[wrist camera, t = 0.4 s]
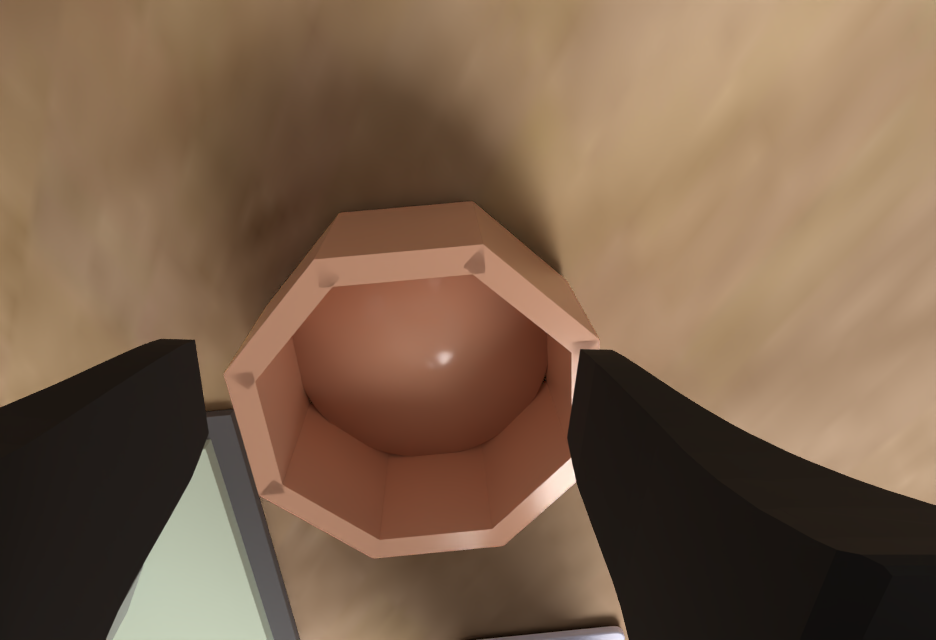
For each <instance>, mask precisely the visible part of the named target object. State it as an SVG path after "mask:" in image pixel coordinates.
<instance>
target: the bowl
mask: <svg viewBox="0 0 936 640" xmlns="http://www.w3.org/2000/svg"><path fill="white" fill-rule="evenodd" d="M599 346H600V339H599V337H598V336H597V334H596V332H595V330H594V328H593V327H592V325H591V323H590V321H589V319H588V318H587V316H586V314H585V312H584V310H583V309H582V307H581V305H580V303H579V301H578V300H577V298H576V296H575V294H574V293H573V291H572V289H571V287H570V285H569V284H568V282H567V280H566V279H565V278H563V277H562V276H561V275H560V274H559V273H557V272H556V271H555V270H554V269H553V268H551V267H550V266H549V265H548V264H547V263H546V262H544V261H543V260H542V259H541V258H540V257H538V256H537V255H536V254H535V253H534V252H532V251H531V250H530V249H529V248H528V247H527V246H525V245H524V244H523V243H522V242H521V241H519V240H518V239H517V238H516V237H515V236H513V235H512V234H511V233H510V232H509V231H508V230H506V229H505V228H504V227H503V226H502V225H500V224H499V223H498V222H497V221H496V220H494V219H493V218H492V217H491V216H490V215H489V214H487V213H486V212H485V211H484V210H483V209H481V208H480V207H479V206H478V205H477V204H476V203H474V202H473V201H467V202H456V203H445V204H433V205H422V206H410V207H399V208H388V209H376V210H365V211H353V212H342V213H339V214H338V215H337V216H336V218H335V219H334V220H333V221H332V223H331V224H330V225H329V227H328V228H327V229H326V230H325V232H324V233H323V234H322V236H321V237H320V238H319V239H318V241H317V242H316V243H315V245H314V246H313V247H312V248H311V250H310V251H309V252H308V253H307V255H306V256H305V257H304V259H303V260H302V261H301V262H300V264H299V265H298V266H297V268H296V269H295V270H294V271H293V273H292V274H291V275H290V277H289V278H288V279H287V280H286V282H285V283H284V284H283V286H282V287H281V288H280V289H279V291H278V292H277V293H276V294H275V296H274V297H273V298H272V300H271V301H270V302H269V303H268V305H267V306H266V307H265V309H264V310H263V312H262V314H261V315H260V317H259V318H258V320H257V321H256V323H255V325H254V326H253V328H252V329H251V331H250V333H249V334H248V336H247V337H246V339H245V341H244V342H243V344H242V345H241V347H240V349H239V350H238V352H237V353H236V355H235V357H234V358H233V360H232V361H231V363H230V364H229V366H228V368H227V369H226V371H225V372H224V377H225V381H226V384H227V388H228V391H229V394H230V398H231V401H232V405H233V408H234V412H235V415H236V418H237V422H238V425H239V429H240V432H241V436H242V439H243V442H244V446H245V449H246V453H247V456H248V460H249V463H250V467H251V470H252V473H253V477H254V480H255V484H256V487H257V491H258V494H259V496H261V497H262V498H264V499H266V500H268V501H270V502H271V503H273V504H275V505H277V506H279V507H280V508H282V509H284V510H286V511H288V512H289V513H291V514H293V515H295V516H297V517H298V518H300V519H302V520H304V521H306V522H307V523H309V524H311V525H313V526H315V527H317V528H318V529H320V530H322V531H324V532H326V533H327V534H329V535H331V536H333V537H335V538H336V539H338V540H340V541H342V542H344V543H345V544H347V545H349V546H351V547H353V548H354V549H356V550H358V551H360V552H362V553H363V554H365V555H367V556H369V557H371V558H373V559H375V558H385V557H395V556H406V555H416V554H426V553H437V552H447V551H457V550H467V549H478V548H488V547H498V546H504V545H505V544H506V543H507V542H509V541H510V540H511V539H512V538H513V537H514V536H515V535H516V534H518V533H519V532H520V531H521V530H522V529H523V528H524V527H526V526H527V525H528V524H529V523H530V522H531V521H532V520H533V519H535V518H536V517H537V516H538V515H539V514H540V513H541V512H543V511H544V510H545V509H546V508H547V507H548V506H549V505H550V504H552V503H553V502H554V501H555V500H556V499H557V498H558V497H560V496H561V495H562V494H563V493H564V492H565V491H566V490H567V489H569V488H570V487H571V486H572V485H573V484H574V483H575V482H576V478H575V474H574V469H573V465H572V460H571V455H570V450H569V445H568V440H567V434H568V428H569V421H570V414H571V408H572V401H573V394H574V387H575V381H576V374H577V367H578V361H579V354H580V349H597V350H599ZM545 373H546V382H545V383H544V384H543V385H542V386H541V384H542V382H543V379H544V376H545ZM540 386H541V387H540ZM309 398H310V400H311V401H312V403H313V404H314V405H313V404H311V403H310V400H309Z"/></svg>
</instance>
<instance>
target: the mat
mask: <svg viewBox="0 0 936 640" xmlns="http://www.w3.org/2000/svg"><path fill="white" fill-rule="evenodd" d="M206 417H207V424H208V430H209V434H208V437H207V439H206V440H208V439H211V441H212V444H213V448H214V451H215V454H216V457H217V460H218V464H219V467H220V470H221V473H222V476H223V479H224V483H225V486H226V489H227V492H228V495H229V499H230V502H231V505H232V508H233V511H234V514H235V518H236V521H237V524H238V527H239V530H240V534H241V537H242V540H243V543H244V546H245V549H246V553H247V556H248V559H249V562H250V565H251V568H252V572H253V575H254V578H255V581H256V584H257V588H258V591H259V594H260V597H261V600H262V603H263V607H264V610H265V613H266V616H267V619H268V623H269V626H270V629H271V632H272V635H273V638H274V640H300V638H299V634H298V631H297V627H296V624H295V621H294V617H293V614H292V610H291V607H290V603H289V600H288V596H287V593H286V589H285V586H284V582H283V579H282V575H281V572H280V568H279V565H278V561H277V558H276V554H275V551H274V547H273V544H272V540H271V537H270V533H269V530H268V526H267V523H266V519H265V516H264V512H263V509H262V506H261V502H260V499H259V495H258V492H257V488H256V485H255V481H254V478H253V474H252V471H251V467H250V464H249V460H248V457H247V453H246V450H245V446H244V443H243V439H242V436H241V432H240V429H239V425H238V422H237V418H236V415H235V412H234V409H230V410H219V411H208V412H206Z"/></svg>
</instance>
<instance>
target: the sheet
mask: <svg viewBox="0 0 936 640" xmlns="http://www.w3.org/2000/svg"><path fill="white" fill-rule="evenodd" d="M106 640H274V638H273V635H272V632H271V629H270V626H269V623H268V619H267V616H266V613H265V610H264V607H263V603H262V600H261V597H260V594H259V591H258V588H257V584H256V581H255V578H254V575H253V572H252V568H251V565H250V562H249V559H248V556H247V553H246V549H245V546H244V543H243V540H242V537H241V534H240V530H239V527H238V524H237V521H236V518H235V514H234V511H233V508H232V505H231V502H230V499H229V495H228V492H227V489H226V486H225V483H224V479H223V476H222V473H221V470H220V467H219V464H218V460H217V457H216V454H215V451H214V448H213V444H212V441H211V439H208V440H206V442H205V445H204V448H203V451H202V453H201V456H200V459H199V461H198V464H197V466H196V469H195V471H194V474H193V476H192V479H191V480H190V482H189V484H188V486H187V488H186V490H185V492H184V493H183V495H182V497H181V499H180V501H179V502H178V504H177V506H176V508H175V510H174V511H173V513H172V515H171V517H170V518H169V520H168V522H167V524H166V525H165V527H164V529H163V531H162V532H161V534H160V536H159V538H158V539H157V541H156V543H155V545H154V546H153V548H152V550H151V552H150V553H149V555H148V557H147V559H146V561H145V562H144V564H143V566H142V568H141V569H140V571H139V573H138V575H137V576H136V578H135V580H134V582H133V583H132V585H131V587H130V589H129V591H128V593H127V595H126V597H125V599H124V601H123V603H122V605H121V607H120V609H119V611H118V613H117V615H116V618H115V620H114V622H113V625H112V627H111V629H110V631H109V634H108V636H107V638H106Z"/></svg>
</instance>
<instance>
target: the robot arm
mask: <svg viewBox="0 0 936 640" xmlns="http://www.w3.org/2000/svg"><path fill="white" fill-rule="evenodd" d="M208 434H209V430H208V424H207V417H206V410H205V404H204V397H203V391H202V384H201V377H200V371H199V364H198V358H197V351H196V344H195V340H182V339H159V340H156V341H152V342H149V343H147V344H144V345H142V346H139V347H137V348H134V349H132V350H130V351H127V352H125V353H123V354H121V355H118V356H116V357H114V358H112V359H110V360H107V361H105V362H103V363H101V364H99V365H97V366H94V367H92V368H90V369H88V370H86V371H83V372H81V373H79V374H77V375H75V376H73V377H70V378H68V379H66V380H64V381H62V382H59V383H57V384H55V385H52V386H50V387H48V388H45V389H43V390H41V391H38V392H36V393H34V394H31V395H29V396H27V397H24V398H22V399H19V400H17V401H15V402H12V403H10V404H8V405H5V406H3V407H1V408H0V640H106V638H107V636H108V634H109V631H110V629H111V627H112V625H113V622H114V620H115V618H116V615H117V613H118V611H119V609H120V607H121V605H122V603H123V601H124V599H125V597H126V595H127V593H128V591H129V589H130V587H131V585H132V583H133V582H134V580H135V578H136V576H137V575H138V573H139V571H140V569H141V568H142V566H143V564H144V562H145V561H146V559H147V557H148V555H149V553H150V552H151V550H152V548H153V546H154V545H155V543H156V541H157V539H158V538H159V536H160V534H161V532H162V531H163V529H164V527H165V525H166V524H167V522H168V520H169V518H170V517H171V515H172V513H173V511H174V510H175V508H176V506H177V504H178V502H179V501H180V499H181V497H182V495H183V493H184V492H185V490H186V488H187V486H188V484H189V482H190V480H191V479H192V476H193V474H194V471H195V469H196V466H197V464H198V461H199V459H200V456H201V453H202V451H203V448H204V445H205V442H206V439H207V437H208ZM567 440H568V445H569V450H570V455H571V460H572V465H573V469H574V474H575V478H576V482H577V485H578V488H579V491H580V494H581V497H582V499H583V502H584V505H585V508H586V510H587V513H588V516H589V519H590V521H591V524H592V527H593V530H594V532H595V535H596V538H597V540H598V543H599V546H600V548H601V551H602V554H603V557H604V559H605V562H606V565H607V567H608V570H609V573H610V576H611V578H612V581H613V584H614V587H615V590H616V593H617V597H618V600H619V603H620V606H621V610H622V614H623V618H624V622H625V626H626V630H627V634H628V638H629V640H936V505H933V504H929V503H926V502H923V501H920V500H917V499H914V498H910V497H907V496H904V495H901V494H898V493H894V492H891V491H888V490H885V489H882V488H879V487H876V486H873V485H871V484H868V483H865V482H862V481H859V480H856V479H853V478H851V477H848V476H846V475H843V474H841V473H838V472H835V471H833V470H830V469H828V468H825V467H823V466H820V465H818V464H815V463H813V462H810V461H808V460H805V459H803V458H801V457H798V456H796V455H794V454H791V453H789V452H787V451H785V450H783V449H780V448H778V447H776V446H774V445H772V444H770V443H768V442H766V441H764V440H762V439H760V438H758V437H756V436H753V435H751V434H749V433H747V432H746V431H744V430H742V429H740V428H738V427H736V426H734V425H732V424H731V423H729V422H727V421H725V420H724V419H722V418H720V417H718V416H717V415H715V414H713V413H711V412H710V411H708V410H706V409H705V408H703V407H701V406H700V405H698V404H696V403H695V402H693V401H691V400H690V399H688V398H687V397H685V396H684V395H682V394H680V393H679V392H677V391H676V390H674V389H673V388H671V387H670V386H668V385H667V384H665V383H664V382H662V381H661V380H659V379H658V378H656V377H655V376H653V375H652V374H650V373H649V372H647V371H646V370H644V369H643V368H641V367H640V366H638V365H637V364H635V363H633V362H632V361H630V360H629V359H627V358H626V357H624V356H622V355H620V354H619V353H617V352H615V351H613V350H597V349H580V354H579V361H578V367H577V374H576V381H575V387H574V394H573V401H572V408H571V414H570V421H569V428H568V434H567ZM478 640H625V637H624V633H623V630H622V629H621V628H620V627H617V626H608V627H598V628H588V629H578V630H568V631H558V632H548V633H538V634H528V635H518V636H508V637H498V638H488V639H478Z"/></svg>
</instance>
